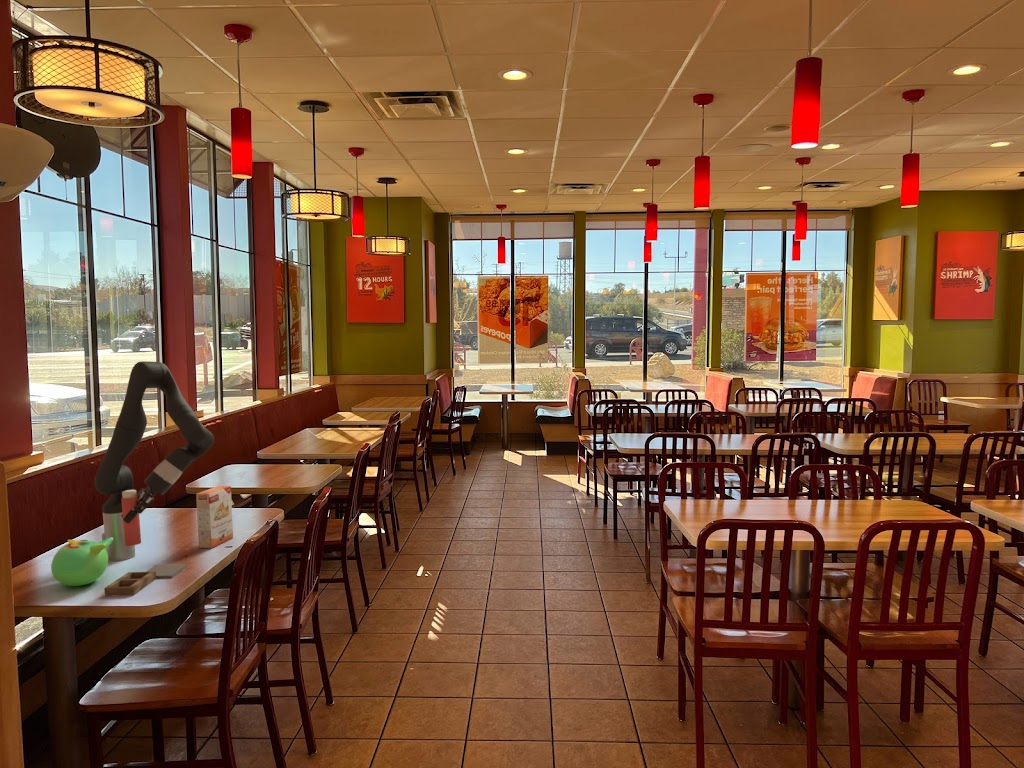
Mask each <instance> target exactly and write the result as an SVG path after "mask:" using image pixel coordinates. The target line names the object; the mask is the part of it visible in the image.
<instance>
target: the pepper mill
mask: <svg viewBox="0 0 1024 768" xmlns="http://www.w3.org/2000/svg"><path fill="white" fill-rule="evenodd" d="M137 493H138V492H137V490H136V489H133V490H126V491H123V492H122V498H121V500H122V513H123V518H124V517H125V516H126V515H127V514H128V513H129V511H130V510H131V509H132V508H133V507H134V505H135V502H136V500H137V499H138V496H137ZM138 508H140V507H138ZM123 527H124V540H125V545H126V546H133V545H135V546H137V545H140V544H141V543H142V537H141V536H142V535H141V523H140V513H139V514H137V515H136V516H135V517H134V518H133V519H132V520H131V522H130V523H126V522H125V521H123Z"/></svg>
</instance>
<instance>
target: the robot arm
mask: <svg viewBox="0 0 1024 768" xmlns="http://www.w3.org/2000/svg"><path fill="white" fill-rule="evenodd" d="M147 389H159V390H160V391H161V392H162V393H163V395H164V396H165V398H166V401H165V403H166V404H165V407H166V412H167V414H168V417H169V418H170V419H171V420H172V422H173V423H174V424H175V425H176V427H177V428H178V429H179V431H180V433H181V436H182V437H183V438H184V439H185V441H186V442H187V444H186V445H185V446H183V447H181V446H179V447H178V446H177V447H175V448H174V449H173V450H172V451H171V452H170V453H169V454H168V455H167V456H166V458H164V459H163V460H162V461H161V462H160V463H159V464H158V465H157V466H156V467H155V468H154V469H153V470H152V471H151V472H150V474H148V476H146V477H145V479H144V480H143V483H144V484H145V485H147V486H146V487H145V488H143V487H142V488H140V490H139V491H138V492H136V493H137V496H138V499H137V500H136V502H135V505H134V507H133V508H132V509H131V510H130V511H129V513H128V514H127V515H126V516H125V517H124V518H123V513H122V500H121V498H122V492H123V491H126V490H134V476H133V472H132V470H131V468H130V467H128V466H127V465H124V462H125V460H127V458H128V457H129V456H130V455H131V453H133V451H134V450H135V449H136V448H137V447H138V445H139V444H140V443H141V441H142V439H143V436H144V434H145V431H146V429H147V425H148V420H147V416H146V415H147V414H146V413H145V410H144V405H143V399H144V396H145V392H146V390H147ZM125 392H126V393H125V397H124V400H123V403H122V406H121V409H120V413H119V415H118V418H117V421H116V423H115V427H114V429H113V434H112V436H111V438H110V440H109V441H110V442H109V444H108V447H107V449H106V453H105V455H104V457H103V459H102V461H101V464H100V466H99V467H98V469H97V472H96V474H95V478H94V487H95V489H96V491H97V492H98V493H99V494H101V495H110V497H109V498H108V499H107V500H106V501H105V503H103V504H102V520H103V532H102V534H101V542H102V541H104V540H106V539H108V538H110V537H112V538H113V541H112V543H111V544H110V545H109V547H108V548H107V550H106V551H107V554H108V562H116V561H117V562H118V561H124V560H128V559H130V558H133V557H135V556H136V548H135V547H136V545H133V546H126V545H125V540H124V527H123V521H125V522H126V523H130V522H131V520H132V519H133V518H134V517H135V516H136V515H137V514H139V515H140V514H142V513H143V512H144V511H145V510H146V509H148V507H150V506H151V504H152V503H153V502H154V501H155V496H156V494H157V493H158V494H159V495H161V496H164V495H165V494H166V493H167V491H168V490H169V489H170V488H171V487H172V486H173V485H174V484H175V483H176V482H177V480H179V478H180V477H181V476H182V474H183V473H184V472H185V471H186V470H187V468H188V467H190V465H191V464H192V463H193V462H194V461H196V460H198V459H199V458H200V457H202V456H203V455H204V454H206V453H207V452H208V451H209V450H210V449H211V448H212V447H213V445H214V442H215V436H214V434H213V433H212V432H211V431H210V430H209V429H208V428H206V426H204V425H203V424H202V422H201V421H200V420H199V418H198V415H197V413H196V412H195V411H194V409H193V408H192V407H191V406H190V404H189V403H188V402H187V401H186V399H185V397H184V396H183V394H182V392H181V390H180V388H179V385H178V384H177V382H176V379H175V378H174V376H173V374H172V373H171V370H170V368H169V367H168V366H167V365H166V364H165V363H164V362H162V361H160V362H159V361H146V360H145V361H143V360H142V361H138V362H136V363H135V364H134V365H133V367H132V368H131V371H130V374H129V379H128V383H127V388H126V391H125ZM138 507H139V508H138Z"/></svg>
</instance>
